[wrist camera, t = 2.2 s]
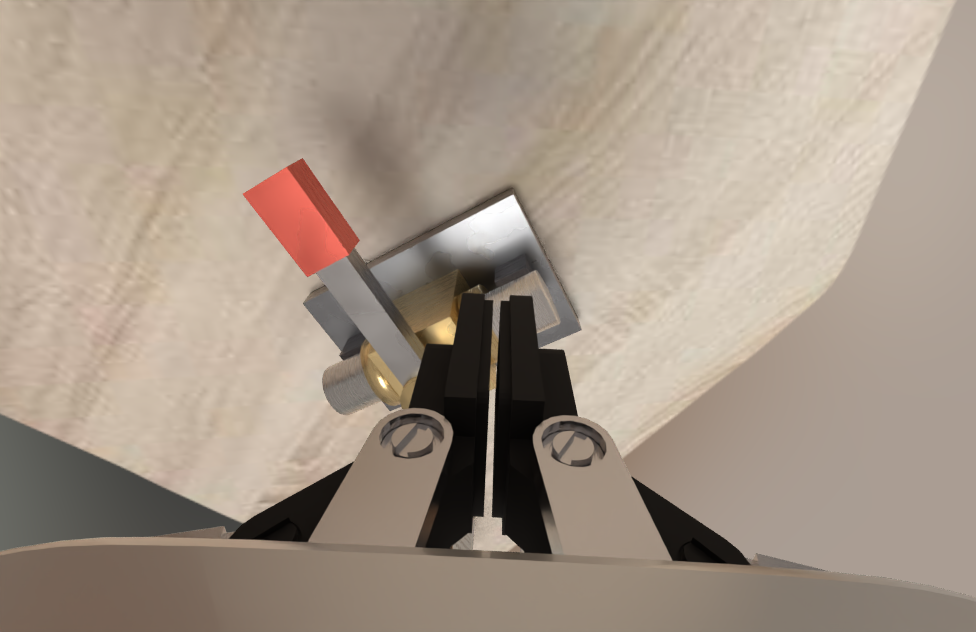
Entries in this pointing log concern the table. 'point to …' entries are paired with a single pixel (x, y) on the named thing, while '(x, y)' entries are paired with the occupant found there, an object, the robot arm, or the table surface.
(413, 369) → the valve lever
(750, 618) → the robot arm
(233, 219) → the table surface
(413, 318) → the valve manifold
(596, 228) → the table surface
